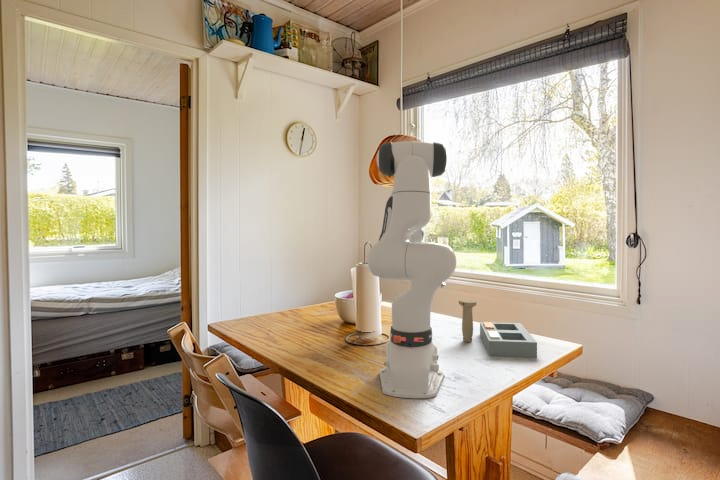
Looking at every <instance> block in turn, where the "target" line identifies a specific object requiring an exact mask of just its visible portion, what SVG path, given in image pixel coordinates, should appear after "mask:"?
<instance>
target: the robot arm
mask: <svg viewBox="0 0 720 480" xmlns="http://www.w3.org/2000/svg"><path fill="white" fill-rule="evenodd" d="M376 164H377V165H376V166H377V168H378V170H379V171H378V172H380V173H381V174H382V175H384V176H387V177H388V178H391V177H392V176H394V177H393V183H392V184H393V185H392V191H391V193H390V195H389V197H388V199H387V201H386V204H385V209H384V216H383V221H382V228H381V232H380V235H379V238H378V241H377V242H376V243H375V244H373V246H371V248H370V249H369V251H368V254H367V258H366V259H367V260H366V261H367V267H368V270H369V272H370V273H371V274H372V275H373V276H375V277H377V278H382V279H386V280H398V281H399V280H402V281H403V280H404V281H410V282H411V285H410V288H409V289H407V290H405V291H403V292H401V293H399V294H398V295H397V296H395V297H394V299H393V300H392V302H391V326H390V332H389V335H390V338H389V339H390V342H388V343H387V344H386V347H385V352H386V353H385V354H386V355H385V356H386V361H384V364H383V365H384V368H380V369H379V372H378V375H379V378H380V379H379V380H380V385H381V390H382V393H383V394H384V395H387V396H390V397H394V398H395V397H396V398H404V399H429V398H431V399H432V398H435V397H437V395H438V392H439V391H440V388H441V386H442V384H443V381H444V379H445V372H444V371H442V370H440V368H439V367H440V366H439V363H438V361H439V355H438V347H437V346H436V345H435V344H434V343H433V342H432V341H433V331H432V327H431V312H432V311H431V310H432V301H433V298H434V296H435V294H436V291H437V290H438V289H439V288H441V289H442V288H445V287H446V286H447V284H446V281H448V280H449V279H450V278H451V277H452V276H453V274H454V272H455V270H456V267H457V257H456V254H455V252H454V250H453V249H452V247H451V246H449V245H447V244H443V243H438V242H433V241H432V242H431V241H428V242H427V241H426V242H424V241H423V239H424V235H425V232H424V229H423V228H424V227H426V226H427V225H428V224H429V222H430V221H431V218H432V217H431V215H432V212H431V211H432V210H431V209H432V183H431V177H432V178H436V177H440V176H442V175H444V173H445V172H446V170H447V168H448V164H449V154H448V151H447V148H446V145H444V144H443V143H441V142H434V141H433V142H425V141H424V142H423V141H412V140H407V141H406V140H405V141H396V142H392V141H389V142H388V141H387V142H384V143H382V144H381V145H380V146H379V149H378V151H377V153H376ZM422 241H423V242H422Z"/></svg>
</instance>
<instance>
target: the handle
mask: <svg viewBox="0 0 720 480" xmlns="http://www.w3.org/2000/svg"><path fill="white" fill-rule="evenodd" d="M458 305H460V306H461V307H462V317H461V318H462V319H461V332H462V341H463V342H464V343H470V342H472V341H473V336H474V335H473V334H474V320H473V318H474V317H473V308H474V307H476V306H477V301H476V300H473V299H459V300H458Z"/></svg>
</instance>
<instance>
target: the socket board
mask: <svg viewBox="0 0 720 480" xmlns="http://www.w3.org/2000/svg"><path fill="white" fill-rule="evenodd" d="M479 335H480V338H481V340H482V342H483V345H484V348H485V350H486V353H487V355H488V356H490V357H491V356H492V357H509V358H510V357H514V358H536V359H537V358H538V342H537V340H535V338H534V337H533V336H532V334H530V332H529V331H528V330H527V328H525V326H524V325H523V324H522V323H521V322H497V321H496V322H490V321H480V322H479Z"/></svg>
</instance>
